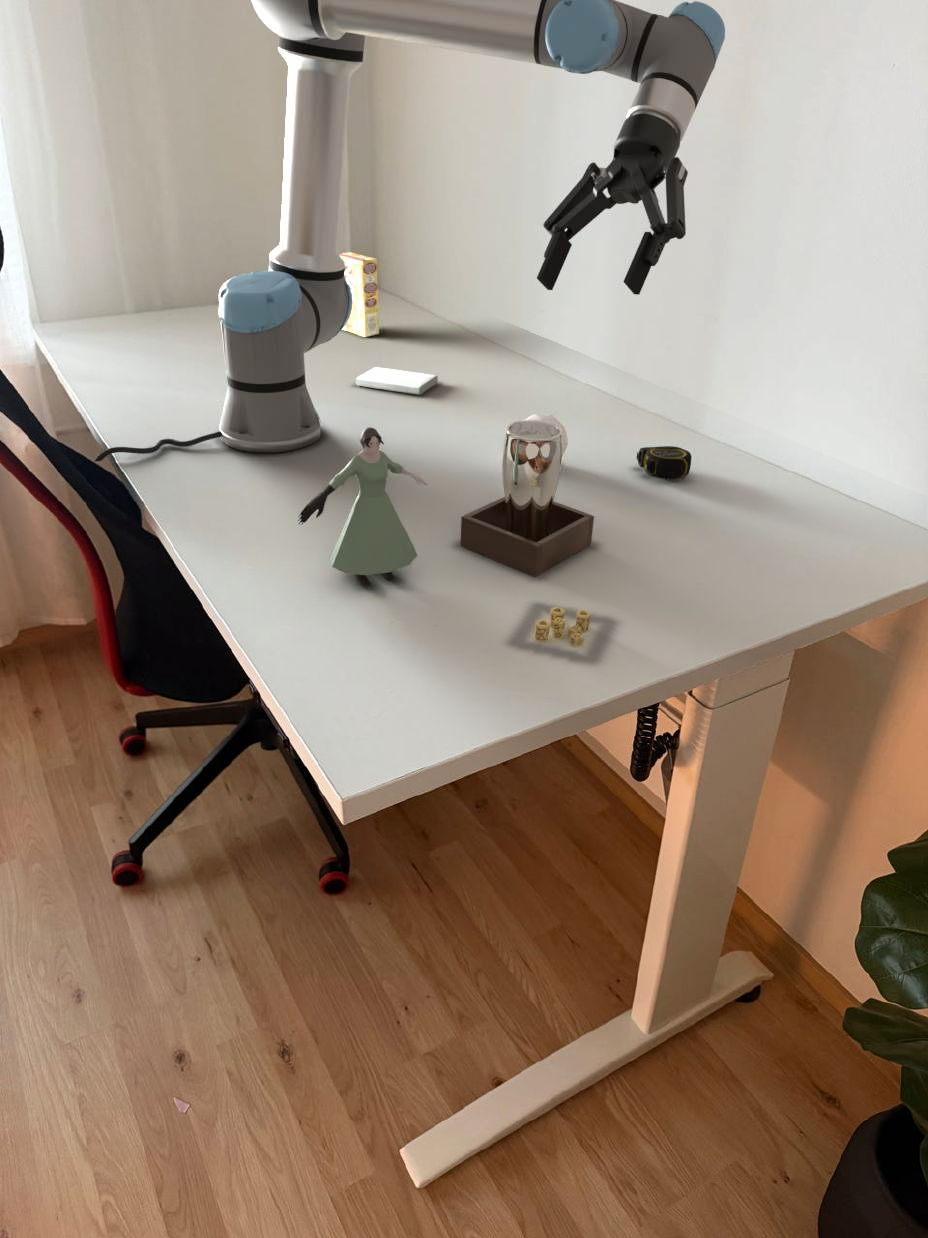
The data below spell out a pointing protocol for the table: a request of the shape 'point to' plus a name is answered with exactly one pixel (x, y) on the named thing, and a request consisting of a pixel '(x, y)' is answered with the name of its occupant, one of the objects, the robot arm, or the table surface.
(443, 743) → the table surface
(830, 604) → the table surface
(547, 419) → the geometric ball
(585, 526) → the tray
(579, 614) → the dice set
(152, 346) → the table surface
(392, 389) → the hard drive
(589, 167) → the robot arm
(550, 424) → the beer glass
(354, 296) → the candy box
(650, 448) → the tape measure
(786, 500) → the table surface
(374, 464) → the character figurine
